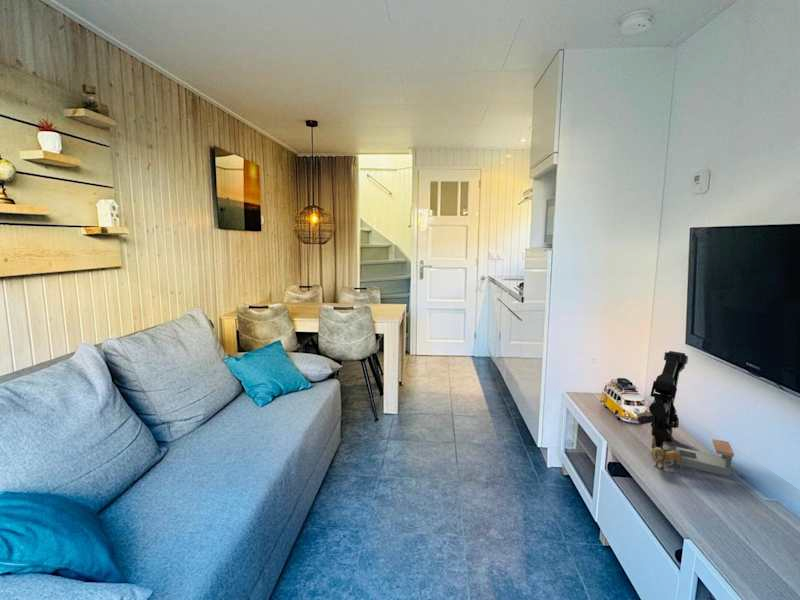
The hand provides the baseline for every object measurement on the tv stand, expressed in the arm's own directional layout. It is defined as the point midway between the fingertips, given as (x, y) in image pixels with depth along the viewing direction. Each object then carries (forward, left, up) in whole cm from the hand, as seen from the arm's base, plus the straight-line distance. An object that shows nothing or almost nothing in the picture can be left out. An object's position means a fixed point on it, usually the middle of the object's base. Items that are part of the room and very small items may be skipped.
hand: (657, 445), depth 178 cm
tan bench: (+6, +21, -2) cm, 21 cm away
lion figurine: (+17, +2, -2) cm, 17 cm away
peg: (0, 0, -2) cm, 2 cm away
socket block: (+6, +15, -2) cm, 16 cm away
